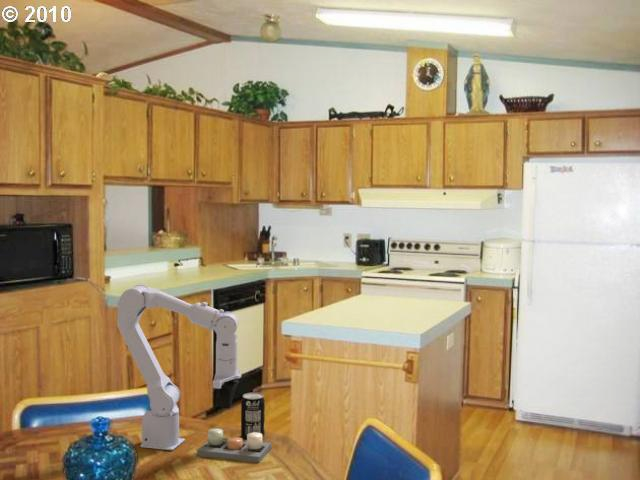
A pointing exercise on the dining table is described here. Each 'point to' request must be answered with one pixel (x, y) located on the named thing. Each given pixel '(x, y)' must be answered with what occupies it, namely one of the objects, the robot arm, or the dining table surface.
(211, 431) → the cap sage
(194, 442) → the dining table surface
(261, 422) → the beverage can
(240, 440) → the peach egg
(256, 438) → the cream rounded piece
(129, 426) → the dining table surface
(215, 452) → the board
